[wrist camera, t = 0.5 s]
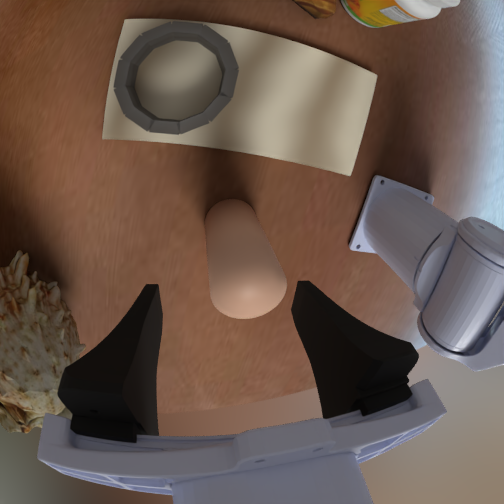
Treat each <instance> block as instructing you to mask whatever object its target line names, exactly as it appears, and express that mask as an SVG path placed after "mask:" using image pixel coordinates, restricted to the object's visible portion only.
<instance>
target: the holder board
mask: <svg viewBox="0 0 504 504" xmlns="http://www.w3.org/2000/svg"><path fill="white" fill-rule="evenodd" d="M377 76H378V75H376V74H374V73H372V72H370V71H368V70H366V69H363V68H361V67H359V66H357V65H355V64H353V63H350V62H348V61H346V60H344V59H341V58H339V57H336V56H334V55H331V54H329V53H326V52H324V51H321V50H318V49H315V48H313V47H310V46H307V45H304V44H301V43H298V42H294V41H291V40H288V39H284V38H281V37H277V36H274V35H270V34H266V33H262V32H258V31H253V30H249V29H244V28H239V27H233V26H227V25H221V24H215V23H207V22H198V21H188V20H174V19H125V21H124V24H123V28H122V31H121V35H120V38H119V42H118V46H117V50H116V54H115V58H114V63H113V68H112V73H111V78H110V83H109V89H108V95H107V101H106V108H105V116H104V125H103V135H102V139H116V140H138V141H153V142H165V143H175V144H185V145H194V146H202V147H210V148H217V149H224V150H231V151H237V152H243V153H249V154H255V155H260V156H266V157H271V158H276V159H281V160H286V161H290V162H295V163H300V164H304V165H308V166H313V167H317V168H321V169H325V170H329V171H333V172H337V173H340V174H344V175H348V176H351V173H352V170H353V167H354V163H355V160H356V157H357V153H358V150H359V146H360V143H361V139H362V136H363V132H364V128H365V125H366V121H367V117H368V113H369V109H370V105H371V101H372V97H373V93H374V89H375V84H376V80H377Z"/></svg>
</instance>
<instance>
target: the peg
mask: <svg viewBox="0 0 504 504" xmlns="http://www.w3.org/2000/svg"><path fill="white" fill-rule="evenodd" d="M205 235H206V249H207V262H208V274H209V285H210V296H211V300H212V302H213V304H214V306H215V307H216V308H217V309H218V310H219V311H220V312H221V313H223V314H225V315H227V316H229V317H233V318H238V319H248V318H254V317H258V316H261V315H263V314H266V313H267V312H269V311H271V310H272V309H273V308H275V307H276V306H277V305H278V304H279V303H280V301H281V300H282V298H283V297H284V295H285V292H286V288H287V281H286V277H285V274H284V272H283V270H282V268H281V266H280V264H279V262H278V260H277V257H276V255H275V253H274V251H273V249H272V247H271V245H270V243H269V241H268V239H267V237H266V235H265V233H264V231H263V228H262V226H261V224H260V222H259V220H258V218H257V216H256V214H255V212H254V210H253V209H252V208H251V206H250V205H248V204H247V203H246V202H244V201H241V200H238V199H226V200H223V201H220V202H218V203H216V204H215V205H214V206H213V207H212V208H211V209H210V210H209V211H208V213H207V215H206V218H205Z"/></svg>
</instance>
